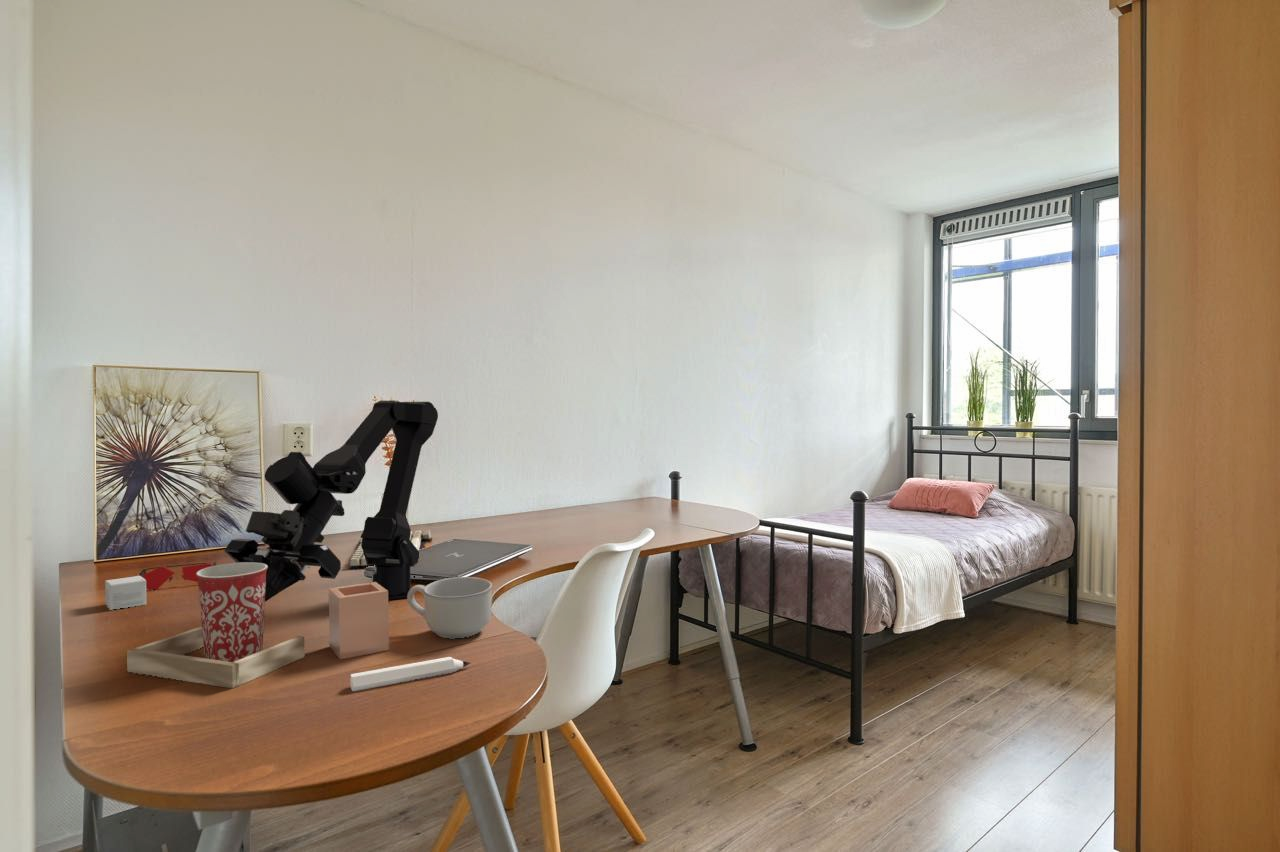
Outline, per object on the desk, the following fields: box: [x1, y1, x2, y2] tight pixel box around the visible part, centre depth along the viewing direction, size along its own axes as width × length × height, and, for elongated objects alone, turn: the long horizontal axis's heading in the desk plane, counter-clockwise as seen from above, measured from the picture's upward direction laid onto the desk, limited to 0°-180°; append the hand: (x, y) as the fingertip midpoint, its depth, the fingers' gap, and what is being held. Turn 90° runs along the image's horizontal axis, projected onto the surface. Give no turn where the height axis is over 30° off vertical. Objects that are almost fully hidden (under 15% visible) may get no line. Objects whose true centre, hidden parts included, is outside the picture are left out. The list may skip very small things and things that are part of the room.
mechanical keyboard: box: [348, 529, 433, 571], centre depth 184 cm, size 38×19×3 cm, turn 15°
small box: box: [104, 575, 147, 611], centre depth 136 cm, size 6×6×5 cm
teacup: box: [406, 576, 493, 640], centre depth 118 cm, size 14×11×8 cm
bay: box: [126, 625, 306, 689], centre depth 104 cm, size 12×19×3 cm, turn 72°
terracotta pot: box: [328, 581, 390, 660], centre depth 111 cm, size 7×7×9 cm
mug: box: [196, 562, 268, 662], centre depth 107 cm, size 13×9×14 cm
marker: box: [349, 656, 472, 692], centre depth 99 cm, size 3×2×16 cm
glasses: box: [138, 562, 217, 591], centre depth 155 cm, size 14×16×5 cm
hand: (252, 605), depth 110 cm, fingers closed
